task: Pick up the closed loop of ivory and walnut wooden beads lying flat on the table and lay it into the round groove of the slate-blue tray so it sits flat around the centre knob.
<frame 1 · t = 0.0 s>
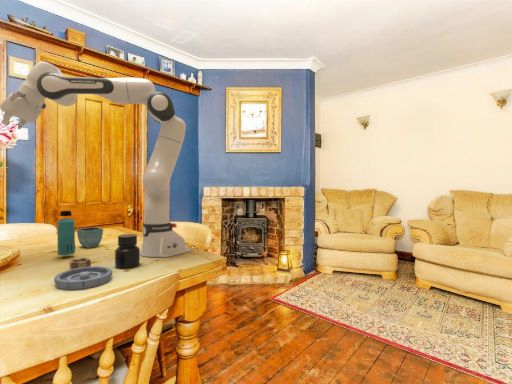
hand: (11, 126, 118), 54 cm above the table, tool tilted 30°, fingers open, 8 cm apart
bead loop: (80, 269, 109), on the table
flower pot: (90, 247, 145), on the table
beverage bottle: (66, 257, 126), on the table
groove tray: (84, 281, 97), on the table
ink bottle: (127, 266, 115), on the table
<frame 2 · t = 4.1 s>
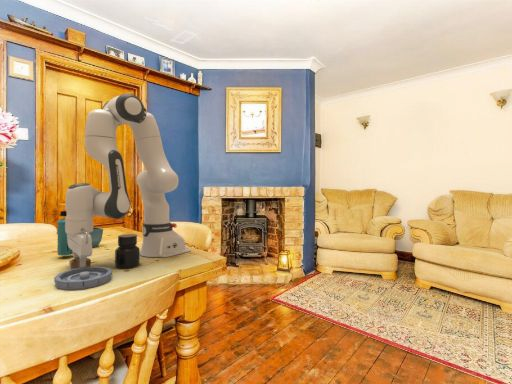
hand: (79, 264, 109), 2 cm above the table, tool pointing down, fingers closed on bead loop, 7 cm apart
bead loop: (80, 269, 109), on the table, touching gripper
everything else where it was.
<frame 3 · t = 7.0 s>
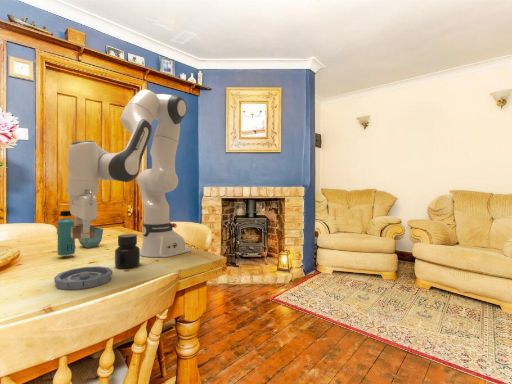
hand: (82, 230, 97), 17 cm above the table, tool pointing down, fingers closed on bead loop, 6 cm apart
bead loop: (82, 236, 97), point 15 cm above the table, touching gripper
everything else where it was.
when the fingers open (4 cm above the table, at t = 9.4 s): bead loop drops 1 cm, resting on groove tray.
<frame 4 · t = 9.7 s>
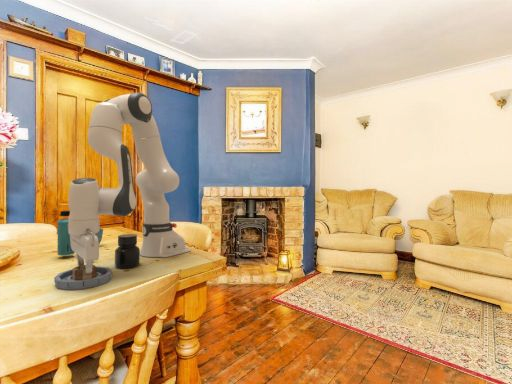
hand: (84, 268, 97), 4 cm above the table, tool pointing down, fingers open, 8 cm apart
bead loop: (84, 278, 97), point 1 cm above the table, touching groove tray
everything else where it was.
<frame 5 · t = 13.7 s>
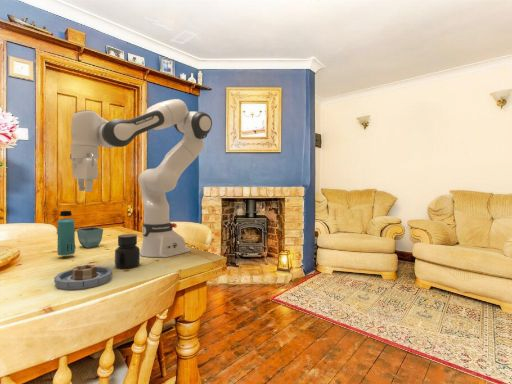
hand: (85, 191, 110), 29 cm above the table, tool pointing down, fingers open, 8 cm apart
nothing on the table moved.
at the end: bead loop 0.1 cm off-centre on the groove tray, point 1.0 cm above the groove tray's base; bead loop tilted 0°; the gripper is holding nothing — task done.
